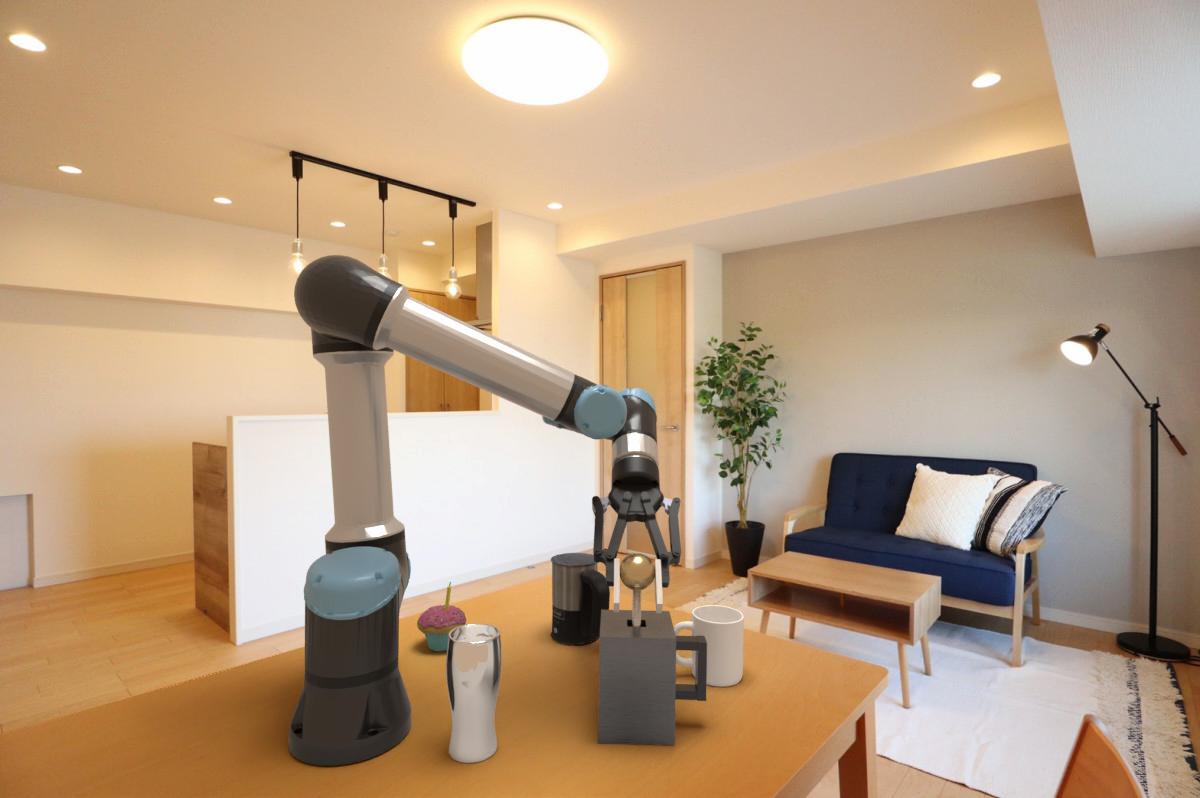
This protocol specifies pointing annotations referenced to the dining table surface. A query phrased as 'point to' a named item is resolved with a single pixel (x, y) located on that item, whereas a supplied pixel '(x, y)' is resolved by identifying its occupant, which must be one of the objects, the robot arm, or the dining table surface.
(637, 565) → the plunger
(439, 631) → the cupcake
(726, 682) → the cup
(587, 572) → the milk frother
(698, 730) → the dining table surface
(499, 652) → the beer glass
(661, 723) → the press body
